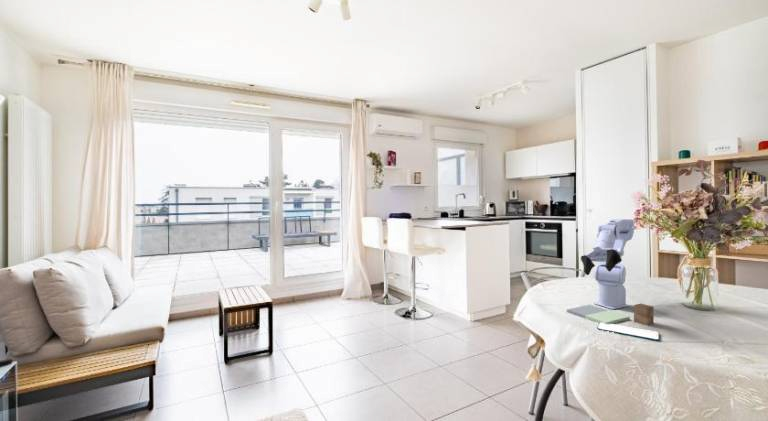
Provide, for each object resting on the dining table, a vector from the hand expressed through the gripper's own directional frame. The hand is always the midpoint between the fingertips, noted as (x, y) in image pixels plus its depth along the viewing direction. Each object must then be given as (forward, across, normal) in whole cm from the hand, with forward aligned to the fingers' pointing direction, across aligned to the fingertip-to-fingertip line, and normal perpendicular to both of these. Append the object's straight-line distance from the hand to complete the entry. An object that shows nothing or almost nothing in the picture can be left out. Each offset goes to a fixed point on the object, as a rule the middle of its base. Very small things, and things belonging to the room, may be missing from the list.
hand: (596, 271), depth 120 cm
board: (+5, -8, +16) cm, 19 cm away
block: (+3, +4, +23) cm, 23 cm away
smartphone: (+14, +4, +16) cm, 21 cm away
